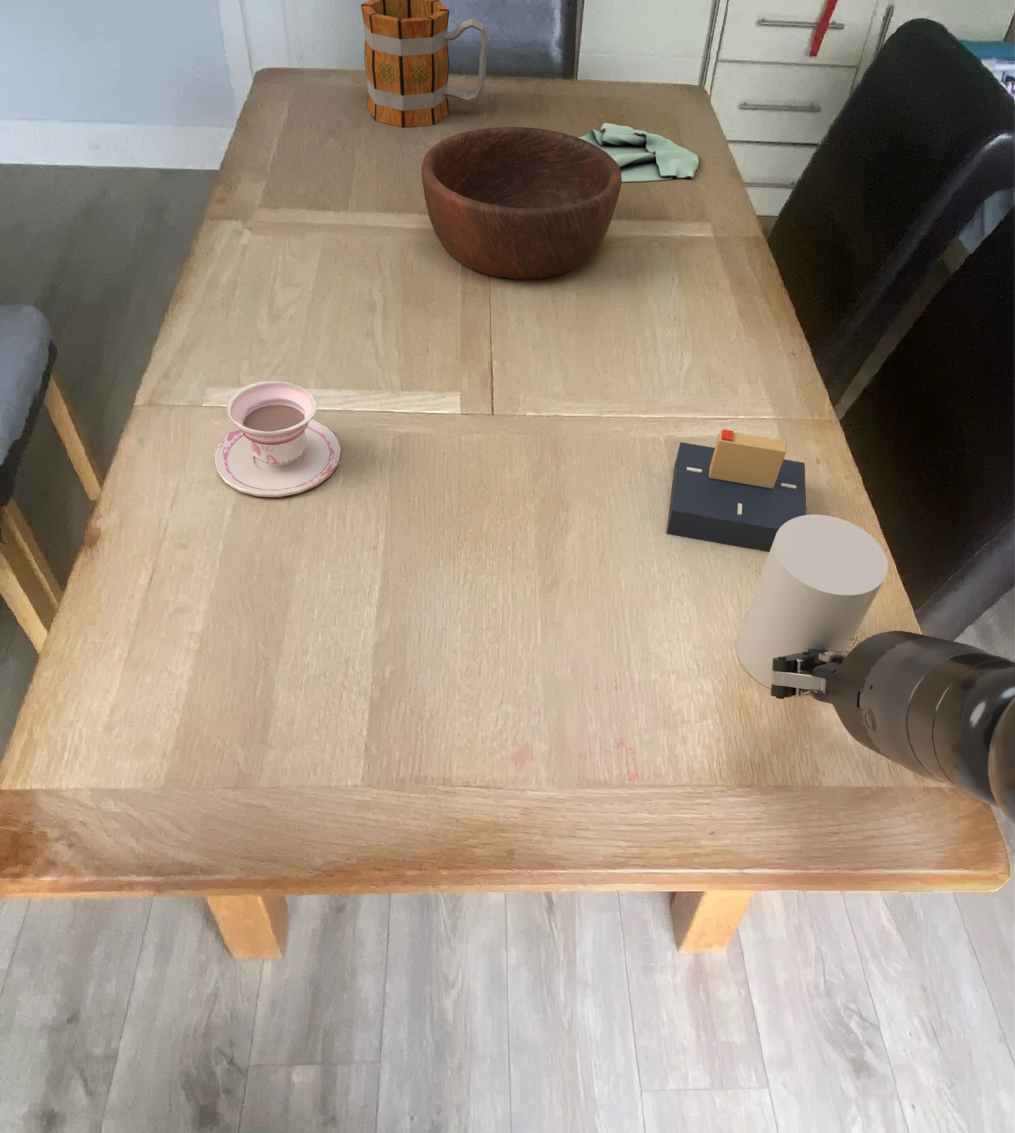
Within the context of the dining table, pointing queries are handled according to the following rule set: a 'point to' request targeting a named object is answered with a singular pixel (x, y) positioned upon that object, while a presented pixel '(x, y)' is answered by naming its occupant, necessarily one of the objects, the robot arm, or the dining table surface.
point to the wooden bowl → (520, 199)
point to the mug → (412, 61)
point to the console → (731, 502)
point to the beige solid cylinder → (810, 592)
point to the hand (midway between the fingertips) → (815, 663)
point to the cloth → (644, 154)
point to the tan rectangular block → (747, 459)
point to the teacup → (275, 441)
